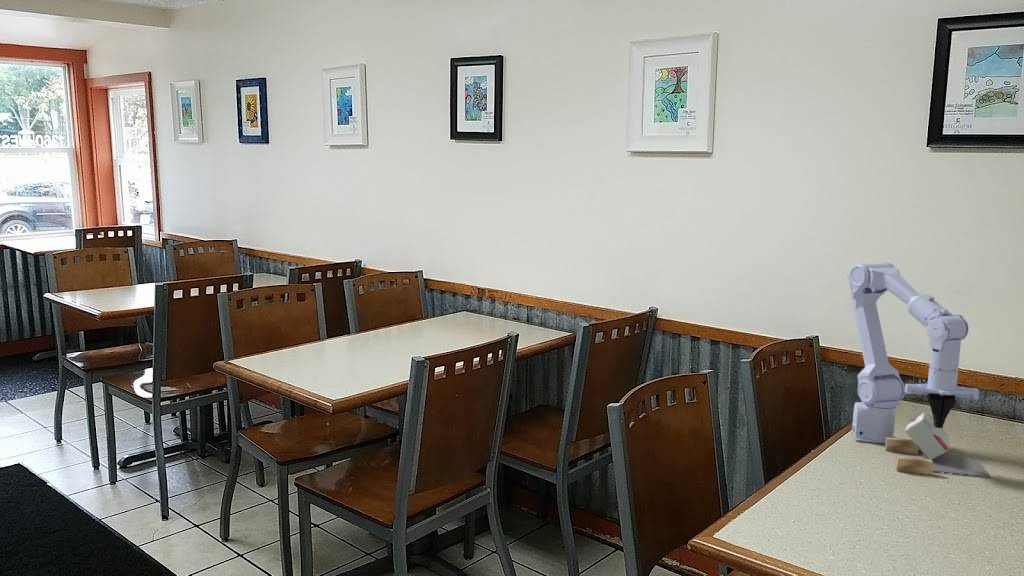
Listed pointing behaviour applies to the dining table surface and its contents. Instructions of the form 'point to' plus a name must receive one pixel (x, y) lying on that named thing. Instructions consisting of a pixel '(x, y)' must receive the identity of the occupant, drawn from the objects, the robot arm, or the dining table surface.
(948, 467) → the rubber mat
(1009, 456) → the dining table surface
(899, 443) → the rail bay
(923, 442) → the ink box
